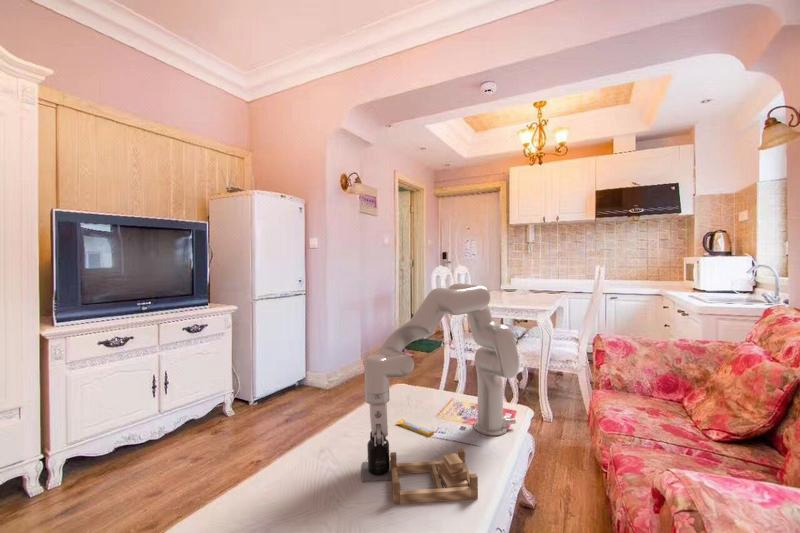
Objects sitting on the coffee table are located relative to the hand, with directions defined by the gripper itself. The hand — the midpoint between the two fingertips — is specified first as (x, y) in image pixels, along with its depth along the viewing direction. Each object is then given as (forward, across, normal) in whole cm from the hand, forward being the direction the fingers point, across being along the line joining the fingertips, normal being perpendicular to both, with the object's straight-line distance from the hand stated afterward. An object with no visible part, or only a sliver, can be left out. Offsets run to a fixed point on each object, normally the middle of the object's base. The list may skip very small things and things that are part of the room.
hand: (379, 449), depth 114 cm
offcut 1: (+2, -9, -22) cm, 23 cm away
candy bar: (+8, +26, -14) cm, 31 cm away
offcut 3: (+8, -9, -21) cm, 24 cm away
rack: (+7, -8, -15) cm, 19 cm away
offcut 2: (+5, -9, -21) cm, 24 cm away
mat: (+7, 0, 0) cm, 7 cm away
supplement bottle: (+7, 0, 0) cm, 7 cm away
